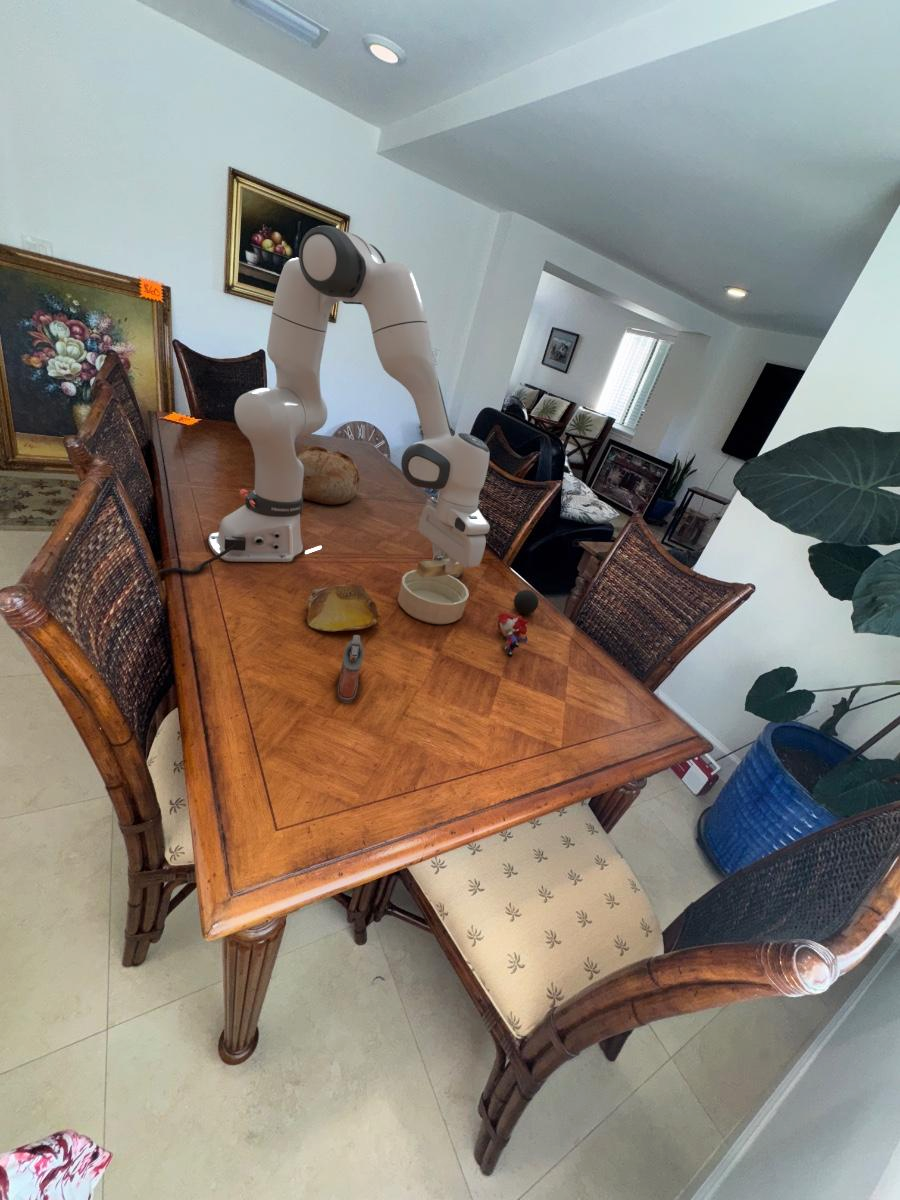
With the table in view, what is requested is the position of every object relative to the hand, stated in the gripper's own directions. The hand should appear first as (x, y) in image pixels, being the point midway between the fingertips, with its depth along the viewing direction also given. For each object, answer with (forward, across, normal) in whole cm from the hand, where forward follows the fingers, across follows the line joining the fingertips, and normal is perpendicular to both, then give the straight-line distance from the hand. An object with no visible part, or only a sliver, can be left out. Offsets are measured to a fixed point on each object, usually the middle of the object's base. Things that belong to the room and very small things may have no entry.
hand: (441, 566), depth 113 cm
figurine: (+12, +19, +10) cm, 24 cm away
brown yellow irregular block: (+11, -2, -23) cm, 26 cm away
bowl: (+11, 0, 0) cm, 11 cm away
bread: (+11, -74, +5) cm, 75 cm away
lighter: (+12, +19, -32) cm, 39 cm away
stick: (+2, 0, 0) cm, 2 cm away
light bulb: (+12, +8, +25) cm, 29 cm away
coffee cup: (+12, -14, +17) cm, 25 cm away
